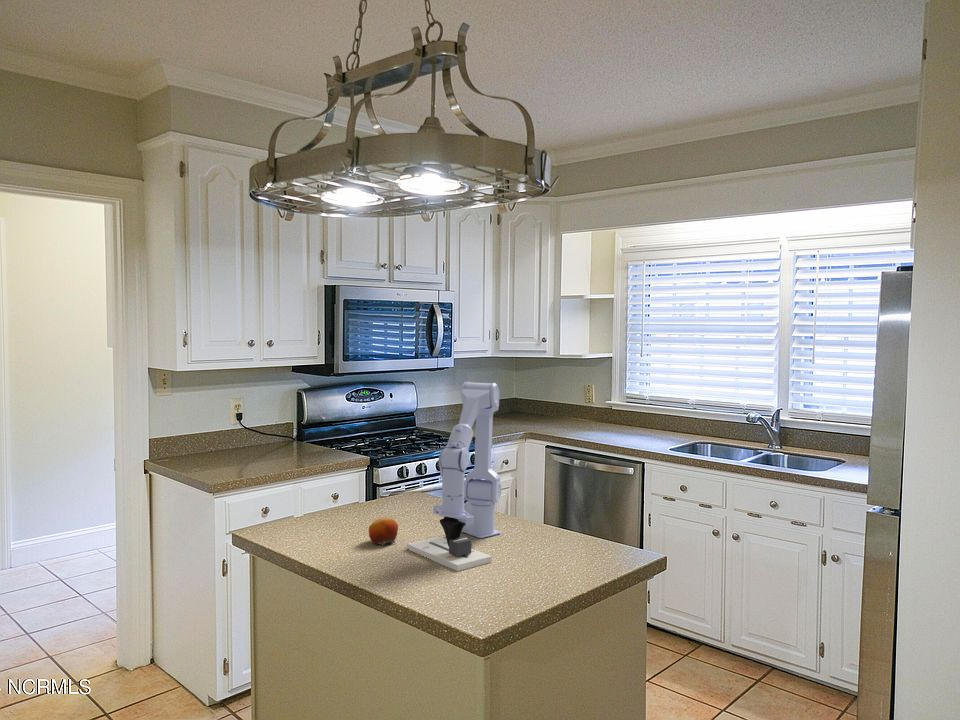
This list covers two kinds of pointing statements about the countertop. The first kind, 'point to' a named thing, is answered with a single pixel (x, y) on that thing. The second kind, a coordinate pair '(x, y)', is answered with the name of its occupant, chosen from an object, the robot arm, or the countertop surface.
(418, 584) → the countertop surface
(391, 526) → the fruit
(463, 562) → the fader console
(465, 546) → the fader knob
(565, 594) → the countertop surface
